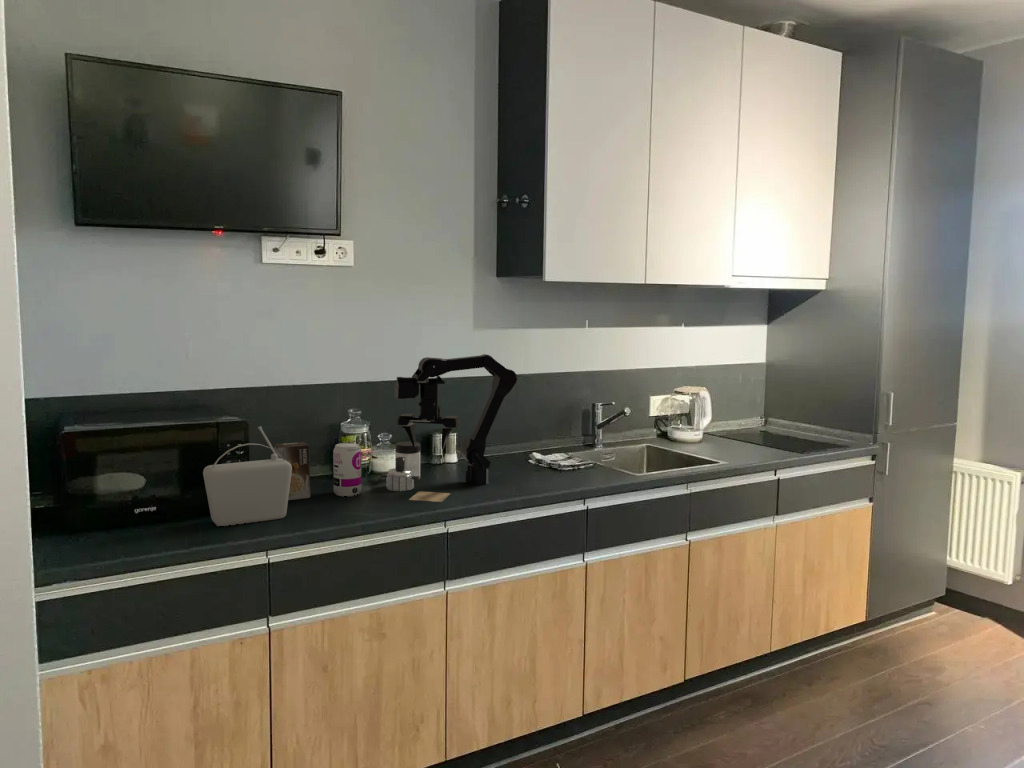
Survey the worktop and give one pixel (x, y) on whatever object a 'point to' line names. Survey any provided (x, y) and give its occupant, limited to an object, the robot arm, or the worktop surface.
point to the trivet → (430, 496)
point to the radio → (248, 489)
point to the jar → (409, 455)
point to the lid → (400, 469)
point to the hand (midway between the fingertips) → (428, 447)
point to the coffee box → (296, 467)
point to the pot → (400, 482)
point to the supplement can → (347, 469)
